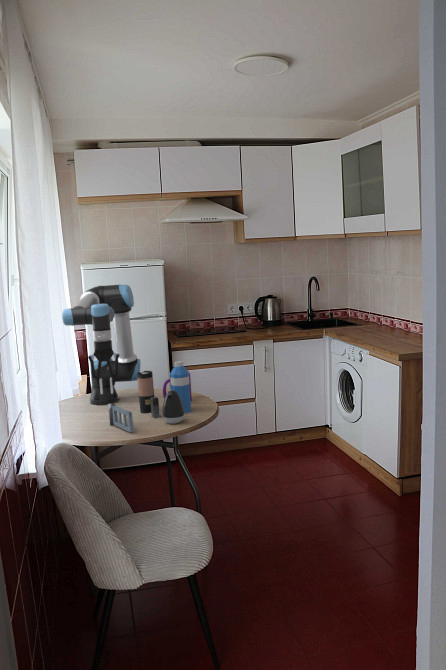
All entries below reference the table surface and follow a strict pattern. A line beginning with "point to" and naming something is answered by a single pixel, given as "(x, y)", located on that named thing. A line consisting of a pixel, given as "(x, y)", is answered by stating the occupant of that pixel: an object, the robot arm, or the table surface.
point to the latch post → (154, 406)
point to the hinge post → (111, 413)
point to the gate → (124, 412)
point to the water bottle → (181, 384)
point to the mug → (169, 381)
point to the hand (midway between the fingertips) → (106, 393)
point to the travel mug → (145, 390)
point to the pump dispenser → (173, 408)
